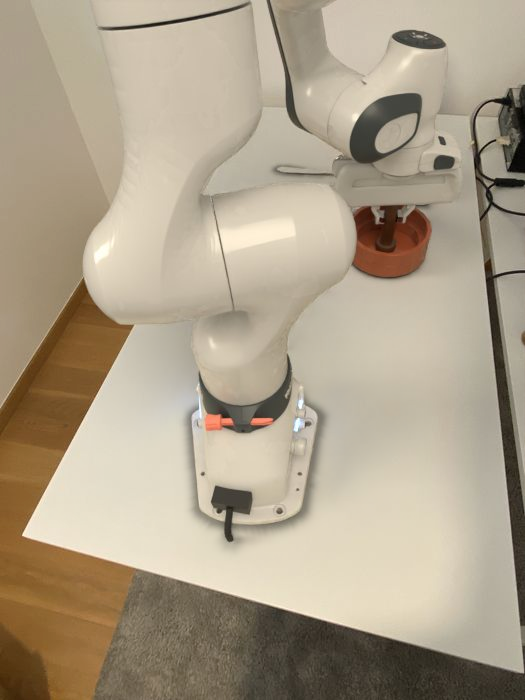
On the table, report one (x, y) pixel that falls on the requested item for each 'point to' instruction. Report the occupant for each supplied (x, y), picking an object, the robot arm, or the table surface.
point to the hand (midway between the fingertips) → (389, 221)
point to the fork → (301, 170)
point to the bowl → (408, 243)
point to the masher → (388, 230)
